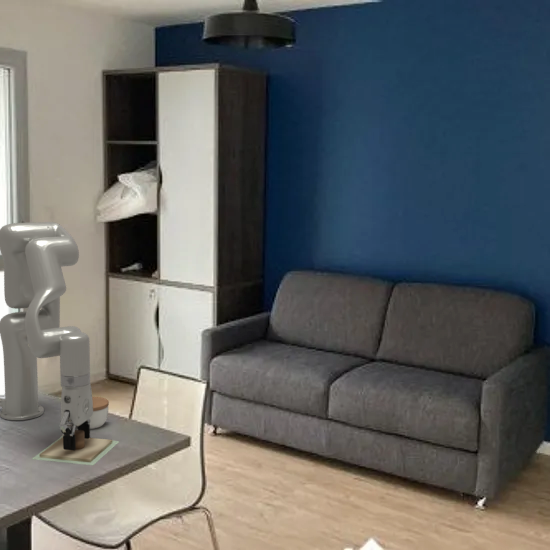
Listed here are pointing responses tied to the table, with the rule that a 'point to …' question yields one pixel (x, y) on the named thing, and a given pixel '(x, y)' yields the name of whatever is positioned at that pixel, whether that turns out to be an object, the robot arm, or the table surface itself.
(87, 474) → the table surface
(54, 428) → the table surface
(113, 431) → the table surface
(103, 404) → the lidded jar
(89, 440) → the cover
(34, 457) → the mat
